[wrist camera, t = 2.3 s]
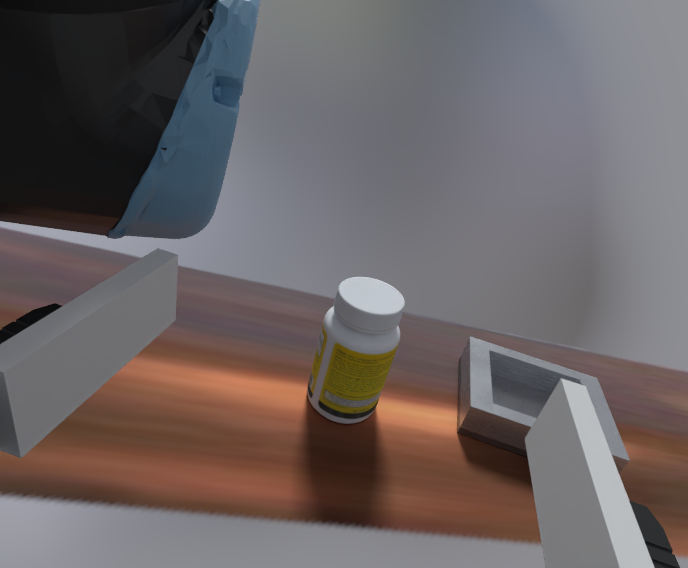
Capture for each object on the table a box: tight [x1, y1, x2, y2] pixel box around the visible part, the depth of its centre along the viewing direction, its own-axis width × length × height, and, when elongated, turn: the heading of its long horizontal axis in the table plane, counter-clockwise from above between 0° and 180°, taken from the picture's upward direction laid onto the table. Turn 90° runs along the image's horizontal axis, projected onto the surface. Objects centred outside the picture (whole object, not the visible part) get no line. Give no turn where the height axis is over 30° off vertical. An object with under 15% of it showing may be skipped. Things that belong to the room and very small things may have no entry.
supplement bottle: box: [307, 277, 405, 424], centre depth 28 cm, size 5×5×8 cm
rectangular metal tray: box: [457, 337, 630, 473], centre depth 32 cm, size 10×8×2 cm
